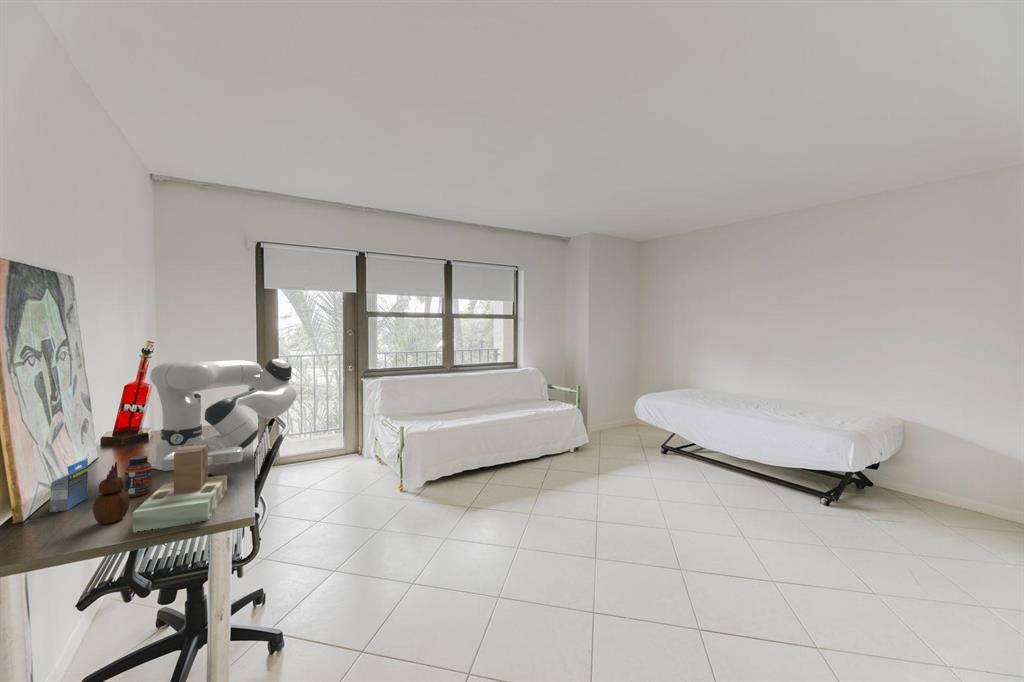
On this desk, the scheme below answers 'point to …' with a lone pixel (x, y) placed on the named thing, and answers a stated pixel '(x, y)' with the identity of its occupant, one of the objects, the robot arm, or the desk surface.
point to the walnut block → (190, 468)
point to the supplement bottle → (138, 476)
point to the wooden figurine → (111, 499)
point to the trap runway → (179, 505)
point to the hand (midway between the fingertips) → (198, 465)
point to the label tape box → (69, 488)
